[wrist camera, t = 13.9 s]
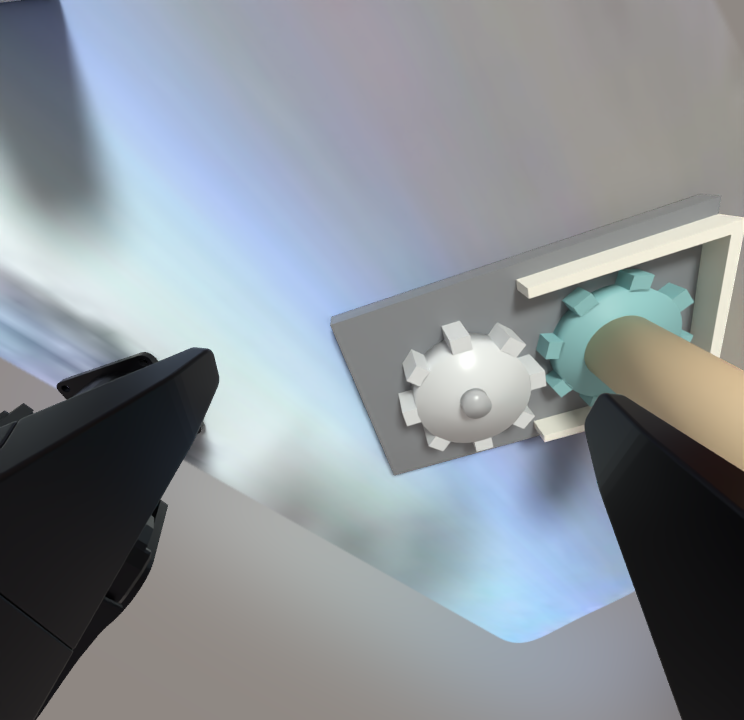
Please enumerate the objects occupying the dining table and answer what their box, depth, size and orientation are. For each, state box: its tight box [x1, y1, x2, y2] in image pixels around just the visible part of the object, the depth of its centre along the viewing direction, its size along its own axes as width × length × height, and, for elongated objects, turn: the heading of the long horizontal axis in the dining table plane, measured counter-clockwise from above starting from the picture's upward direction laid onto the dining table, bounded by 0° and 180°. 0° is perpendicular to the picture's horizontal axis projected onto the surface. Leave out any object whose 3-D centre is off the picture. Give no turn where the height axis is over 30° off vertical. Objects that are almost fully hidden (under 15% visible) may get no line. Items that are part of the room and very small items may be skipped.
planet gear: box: [536, 269, 744, 471], centre depth 16 cm, size 8×8×13 cm
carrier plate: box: [330, 194, 744, 475], centre depth 21 cm, size 21×13×4 cm, turn 108°
